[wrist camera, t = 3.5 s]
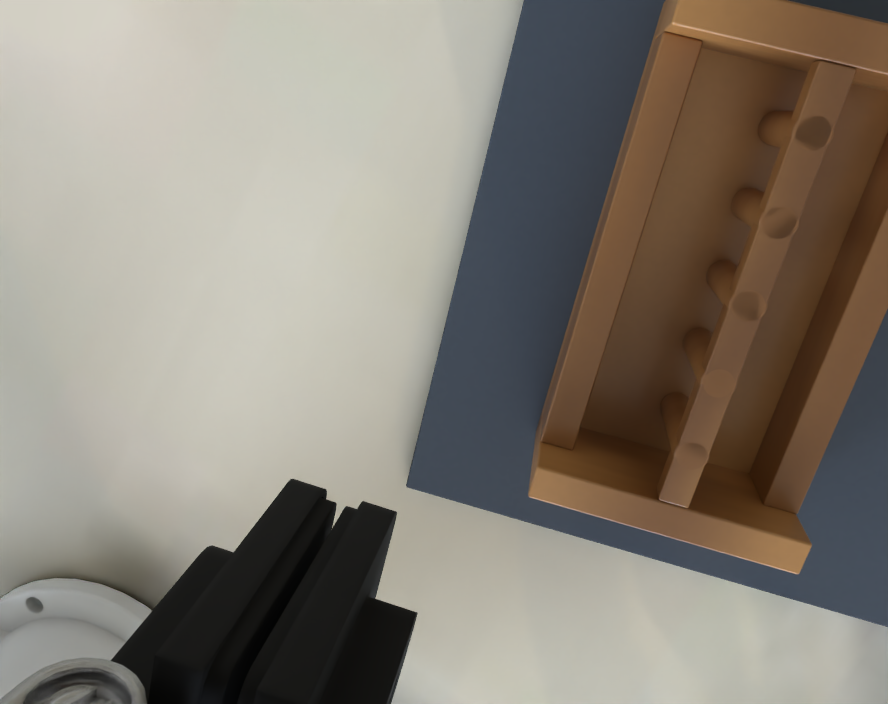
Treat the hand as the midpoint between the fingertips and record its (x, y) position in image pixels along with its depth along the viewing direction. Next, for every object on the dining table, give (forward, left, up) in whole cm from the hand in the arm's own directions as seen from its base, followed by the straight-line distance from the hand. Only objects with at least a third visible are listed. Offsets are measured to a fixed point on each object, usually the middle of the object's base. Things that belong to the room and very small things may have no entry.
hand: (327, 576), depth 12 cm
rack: (+8, +3, -19) cm, 21 cm away
